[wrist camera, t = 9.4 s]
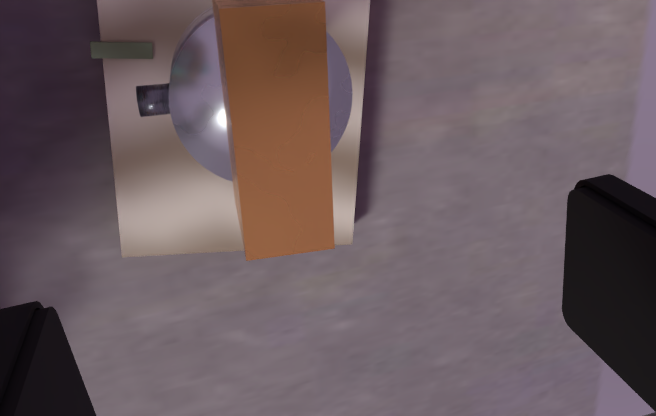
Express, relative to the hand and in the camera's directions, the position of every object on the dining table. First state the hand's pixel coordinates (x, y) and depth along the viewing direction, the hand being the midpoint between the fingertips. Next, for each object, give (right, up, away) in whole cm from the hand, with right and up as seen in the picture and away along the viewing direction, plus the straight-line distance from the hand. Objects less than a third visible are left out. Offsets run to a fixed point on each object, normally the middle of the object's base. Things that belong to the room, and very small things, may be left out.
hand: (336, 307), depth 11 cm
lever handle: (-4, +7, +15) cm, 17 cm away
